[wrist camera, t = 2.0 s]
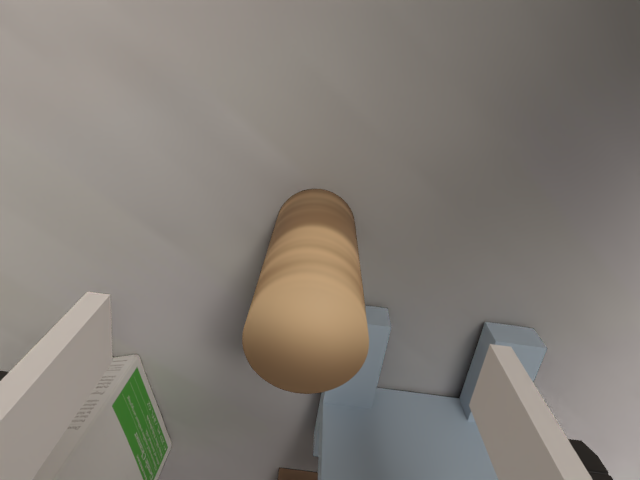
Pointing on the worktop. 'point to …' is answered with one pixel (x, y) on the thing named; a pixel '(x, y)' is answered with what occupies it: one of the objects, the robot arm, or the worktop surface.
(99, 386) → the skincare box
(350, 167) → the worktop surface
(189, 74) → the worktop surface
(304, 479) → the board
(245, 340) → the dowel
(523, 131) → the worktop surface
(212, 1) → the worktop surface
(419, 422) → the fork block
